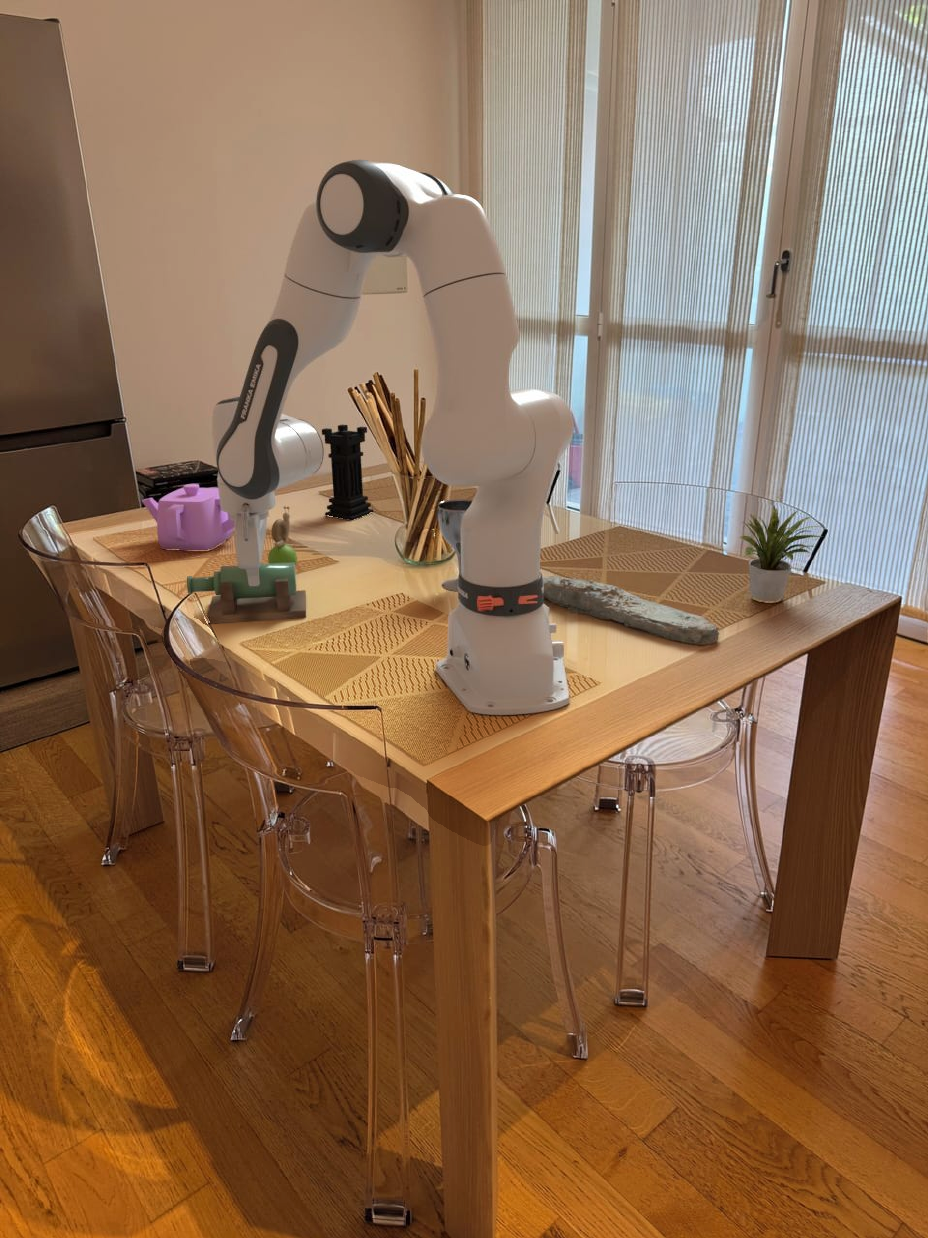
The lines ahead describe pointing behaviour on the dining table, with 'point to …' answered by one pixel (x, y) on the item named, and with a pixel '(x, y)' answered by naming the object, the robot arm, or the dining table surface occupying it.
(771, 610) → the dining table surface
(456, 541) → the wine glass
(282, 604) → the u-rest
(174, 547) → the teakettle
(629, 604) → the long grey stone
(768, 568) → the house plant
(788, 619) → the dining table surface
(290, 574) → the bottle
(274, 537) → the snail figurine
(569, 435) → the robot arm
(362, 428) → the chess piece
